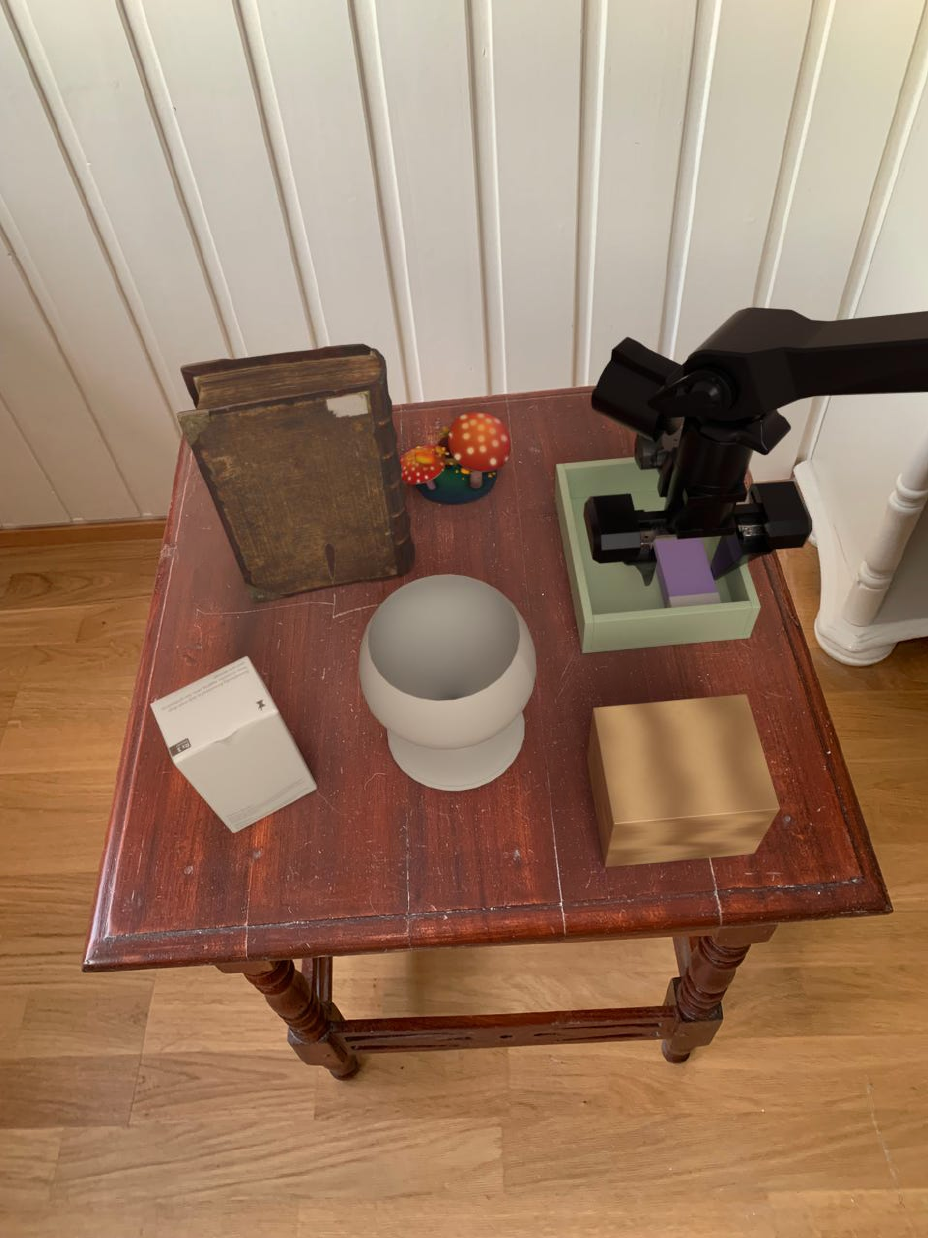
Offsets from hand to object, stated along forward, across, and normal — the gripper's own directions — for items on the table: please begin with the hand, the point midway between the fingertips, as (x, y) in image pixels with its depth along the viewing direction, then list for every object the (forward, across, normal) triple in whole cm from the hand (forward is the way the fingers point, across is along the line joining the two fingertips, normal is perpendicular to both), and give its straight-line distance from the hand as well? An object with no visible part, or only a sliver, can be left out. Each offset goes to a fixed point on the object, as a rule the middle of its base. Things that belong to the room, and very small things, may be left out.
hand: (679, 579), depth 85 cm
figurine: (+3, +20, -19) cm, 27 cm away
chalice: (+3, +22, +12) cm, 26 cm away
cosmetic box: (+4, +39, +16) cm, 43 cm away
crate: (+2, +5, +21) cm, 22 cm away
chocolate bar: (+2, -1, 0) cm, 2 cm away
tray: (+2, +2, -4) cm, 5 cm away
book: (+3, +33, -7) cm, 34 cm away
